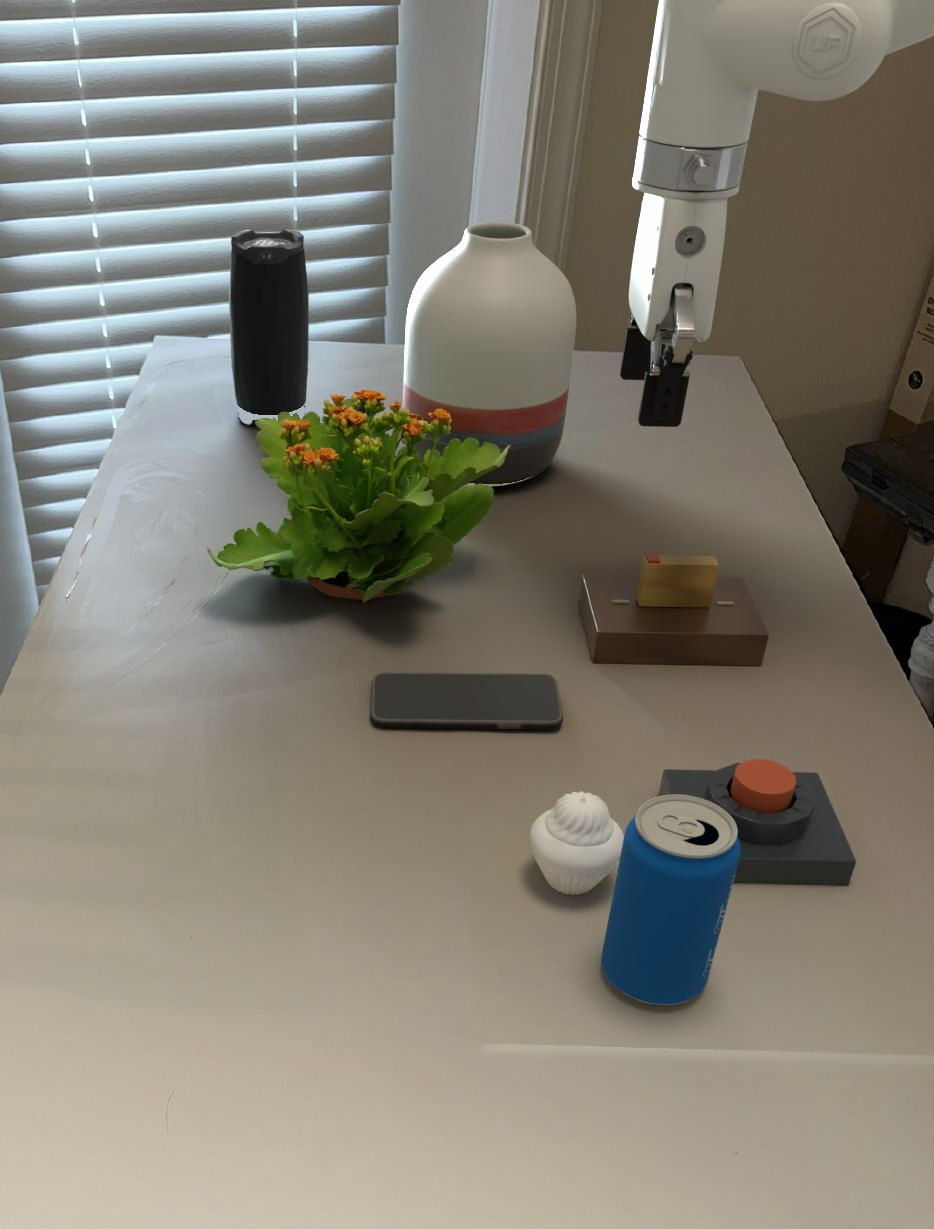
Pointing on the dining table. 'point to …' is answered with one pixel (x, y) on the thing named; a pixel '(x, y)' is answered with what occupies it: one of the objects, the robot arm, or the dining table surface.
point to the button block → (776, 830)
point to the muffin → (576, 843)
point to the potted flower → (365, 498)
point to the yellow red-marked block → (676, 581)
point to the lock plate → (671, 625)
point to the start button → (763, 786)
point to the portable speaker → (269, 321)
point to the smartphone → (466, 700)
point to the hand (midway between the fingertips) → (648, 401)
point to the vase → (493, 348)
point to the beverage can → (670, 898)
